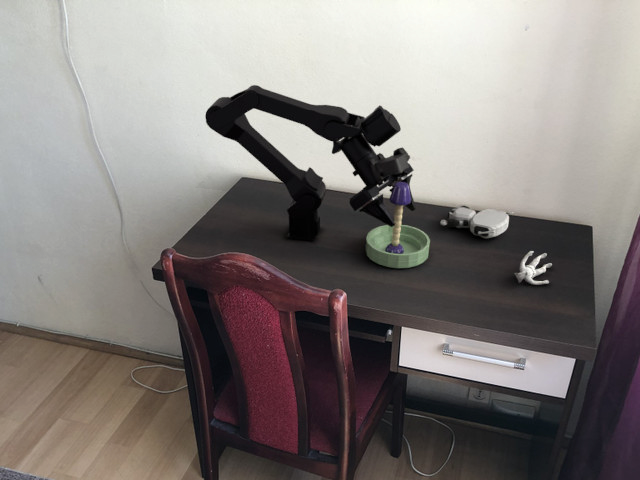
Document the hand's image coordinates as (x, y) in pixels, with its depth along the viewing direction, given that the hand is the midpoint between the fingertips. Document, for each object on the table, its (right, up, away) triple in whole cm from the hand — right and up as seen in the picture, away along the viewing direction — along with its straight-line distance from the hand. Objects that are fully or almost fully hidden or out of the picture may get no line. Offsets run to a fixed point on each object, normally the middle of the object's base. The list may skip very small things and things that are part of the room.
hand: (404, 217), depth 152 cm
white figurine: (+28, -13, -1) cm, 31 cm away
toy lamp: (-1, -7, +6) cm, 9 cm away
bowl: (-1, -7, +6) cm, 10 cm away
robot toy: (+19, -1, +16) cm, 25 cm away
